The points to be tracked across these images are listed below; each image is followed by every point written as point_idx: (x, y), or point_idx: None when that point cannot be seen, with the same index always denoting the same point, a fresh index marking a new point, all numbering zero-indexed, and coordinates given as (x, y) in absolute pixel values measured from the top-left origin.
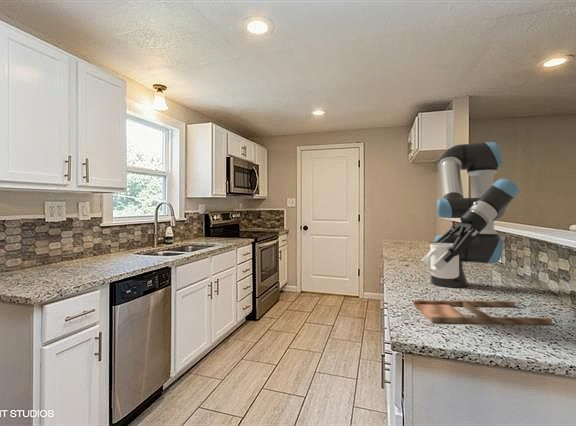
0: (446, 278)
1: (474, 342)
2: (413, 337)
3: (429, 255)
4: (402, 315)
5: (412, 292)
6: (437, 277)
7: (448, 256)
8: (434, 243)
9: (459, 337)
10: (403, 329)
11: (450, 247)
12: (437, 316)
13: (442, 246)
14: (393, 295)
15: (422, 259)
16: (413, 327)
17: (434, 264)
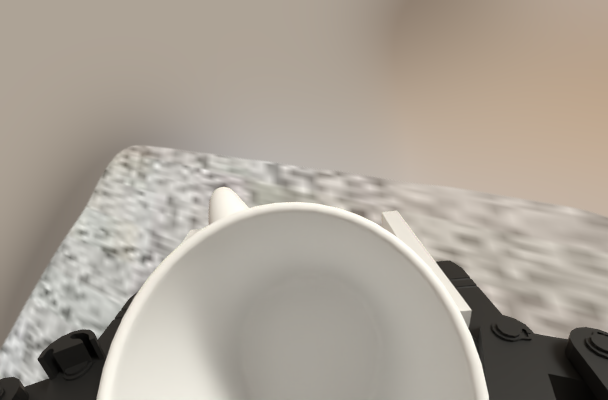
0: (244, 328)
1: (82, 316)
2: (136, 182)
3: (213, 193)
4: (284, 192)
5: (586, 299)
6: (273, 287)
7: (114, 323)
8: (436, 291)
9: (117, 290)
10: (183, 172)
11: (107, 391)
12: None
13: (141, 288)
14: (507, 211)
15: (389, 214)
16: (194, 198)
17: (190, 232)
